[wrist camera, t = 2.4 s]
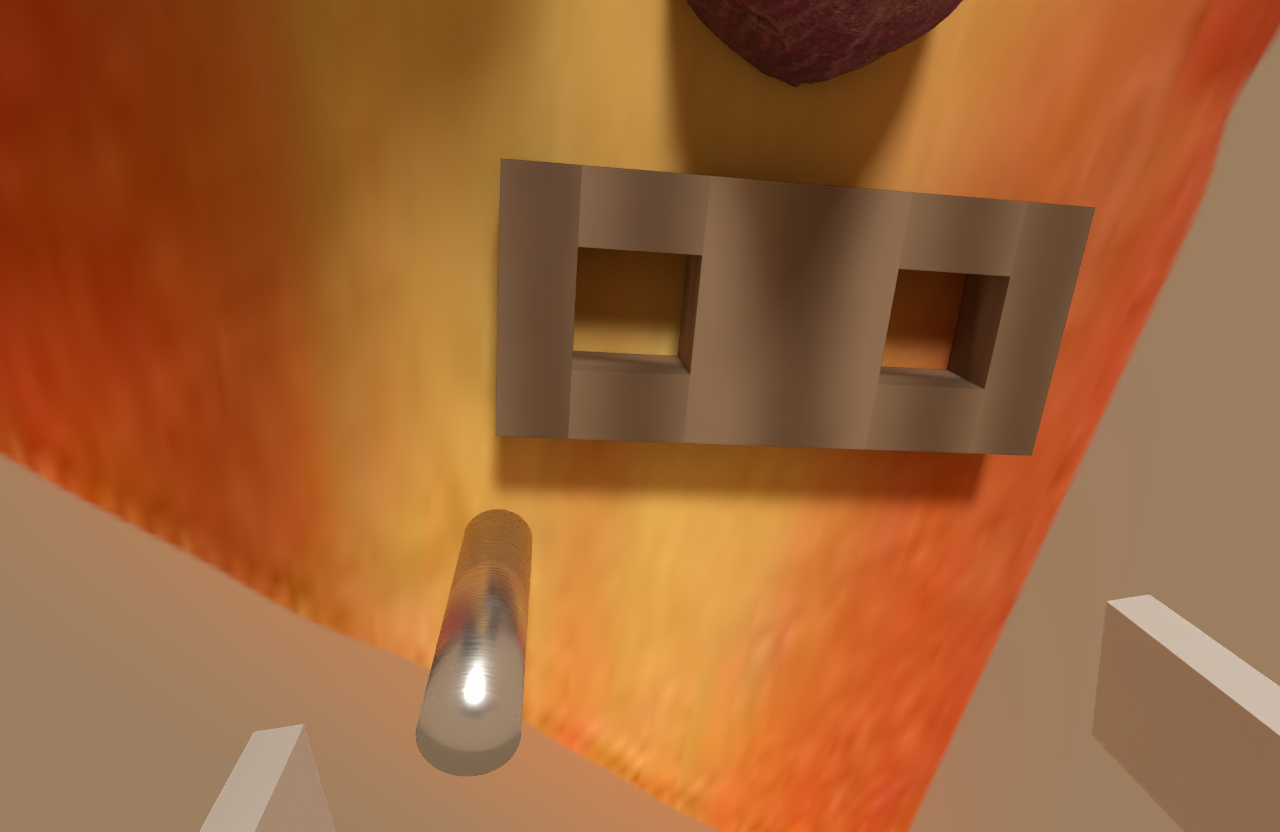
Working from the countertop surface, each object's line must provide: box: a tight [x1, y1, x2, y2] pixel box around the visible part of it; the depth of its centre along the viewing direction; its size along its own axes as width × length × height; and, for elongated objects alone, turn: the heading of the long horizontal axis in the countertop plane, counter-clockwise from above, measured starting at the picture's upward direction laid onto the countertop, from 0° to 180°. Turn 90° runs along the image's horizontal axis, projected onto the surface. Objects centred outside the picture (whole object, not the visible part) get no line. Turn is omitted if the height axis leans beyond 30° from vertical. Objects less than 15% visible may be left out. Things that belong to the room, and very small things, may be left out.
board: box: [495, 159, 1095, 456], centre depth 30 cm, size 22×10×3 cm, turn 86°
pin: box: [416, 510, 532, 776], centre depth 27 cm, size 3×3×12 cm
